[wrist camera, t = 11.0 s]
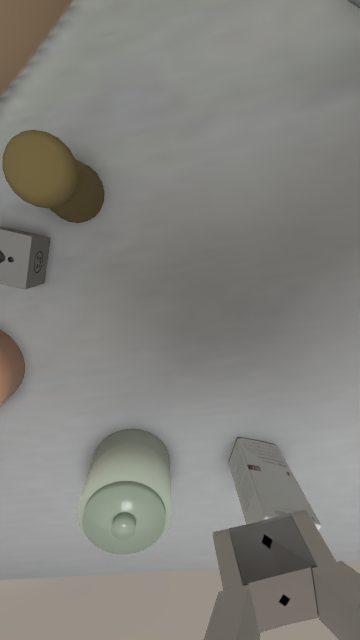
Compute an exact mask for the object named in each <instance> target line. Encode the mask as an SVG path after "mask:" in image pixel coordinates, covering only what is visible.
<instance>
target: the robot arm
mask: <svg viewBox="0 0 360 640" xmlns="http://www.w3.org/2000/svg"><path fill="white" fill-rule="evenodd" d="M229 532H230V533H229ZM213 539H214V544H215V550H216V555H217V560H218V565H219V570H220V575H221V580H222V586H223V591H221V592H219V593H218V596H217V599H216V602H215V606H214V609H213V612H212V615H211V618H210V621H209V625H208V628H207V631H206V634H205V637H204V640H260V633H261V632H264V631H267V630H271V629H274V628H277V627H281V626H284V625H288V624H292V623H296V622H301V621H305V620H310V619H314V618H319V619H320V620H321V622H322V623H323V624H324V625H325V626H326V627H327V628H328V629H329V630H330V631H331V632H332V633H333V634H334V635H335V636H336V637H337V638H338V639H339V640H360V574H359V573H358V572H356V571H355V570H354V569H352V568H351V567H349V566H348V565H347V564H345V563H344V562H342V561H338V562H336V560H335V559H334V557H333V555H332V553H331V552H330V550H329V548H328V546H327V545H326V543H325V541H324V539H323V538H322V536H321V534H320V532H319V531H318V529H317V527H316V526H315V524H314V522H313V520H312V519H311V517H310V515H309V513H308V512H307V511H306V510H301V511H297V512H293V513H290V514H284V515H280V516H276V517H273V518H269V519H265V520H261V521H259V522H256V523H252V524H247V525H242V526H238V527H233V528H229V530H228V529H225V530H220V531H216V532H213Z"/></svg>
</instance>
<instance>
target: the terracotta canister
mask: <svg viewBox="0 0 360 640" xmlns="http://www.w3.org/2000/svg"><path fill="white" fill-rule="evenodd" d="M24 373H25V362H24V358H23V355H22V352H21V350H20V348H19V347H18V345H17V344H16V343H15V341H14V340H13V339H12V338H11V337H10V336H9V335H7V334H6V333H5V332H3V331H2V330H0V406H1V405H2V404H3V403H4V402H5V401H6V400H7V399H8V398H9V397H10V396H11V395H12V394H13V393H14V392H15V391H16V390H17V389H18V388H19V386H20V384H21V383H22V380H23V377H24Z"/></svg>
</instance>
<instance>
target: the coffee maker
mask: <svg viewBox="0 0 360 640" xmlns="http://www.w3.org/2000/svg"><path fill="white" fill-rule="evenodd" d="M348 1H350V2H351V3H353V4H354V5H356V6H357V7H359V8H360V0H348Z"/></svg>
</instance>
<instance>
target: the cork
mask: <svg viewBox="0 0 360 640" xmlns="http://www.w3.org/2000/svg"><path fill="white" fill-rule="evenodd" d="M3 171H4V174H5V178H6V180H7V182H8V184H9V185H10V187H11V188H12V190H13V191H14V192H15V193H16V194H17V195H18V196H19V197H20V198H22V199H23V200H24V201H26V202H28V203H30V204H32V205H34V206H37V207H44V208H50V209H51V210H52V211H53V212H55V213H56V214H57V215H58V216H59V217H61V218H63V219H65V220H67V221H69V222H76V223H80V222H85V221H88V220H90V219H92V218H93V217H95V216H96V215H97V213H98V212H99V211H100V210H101V207H102V204H103V202H104V189H103V185H102V182H101V180H100V178H99V176H98V175H97V173H96V172H95V171H94V170H93V169H92V168H90V167H89V166H87V165H85V164H83V163H81V162H79V161H77V160H75V158H74V156H73V155H72V153H71V151H70V149H69V148H68V147H67V146H66V145H65V144H64V143H63V142H62V141H61V140H60V139H59V138H57V137H55V136H53V135H51V134H49V133H47V132H43V131H37V130H29V131H24V132H21V133H19V134H18V135H16V136H14V137H13V138H12V139H11V140H10V142H9V143H8V144H7V146H6V148H5V151H4V154H3Z"/></svg>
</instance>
